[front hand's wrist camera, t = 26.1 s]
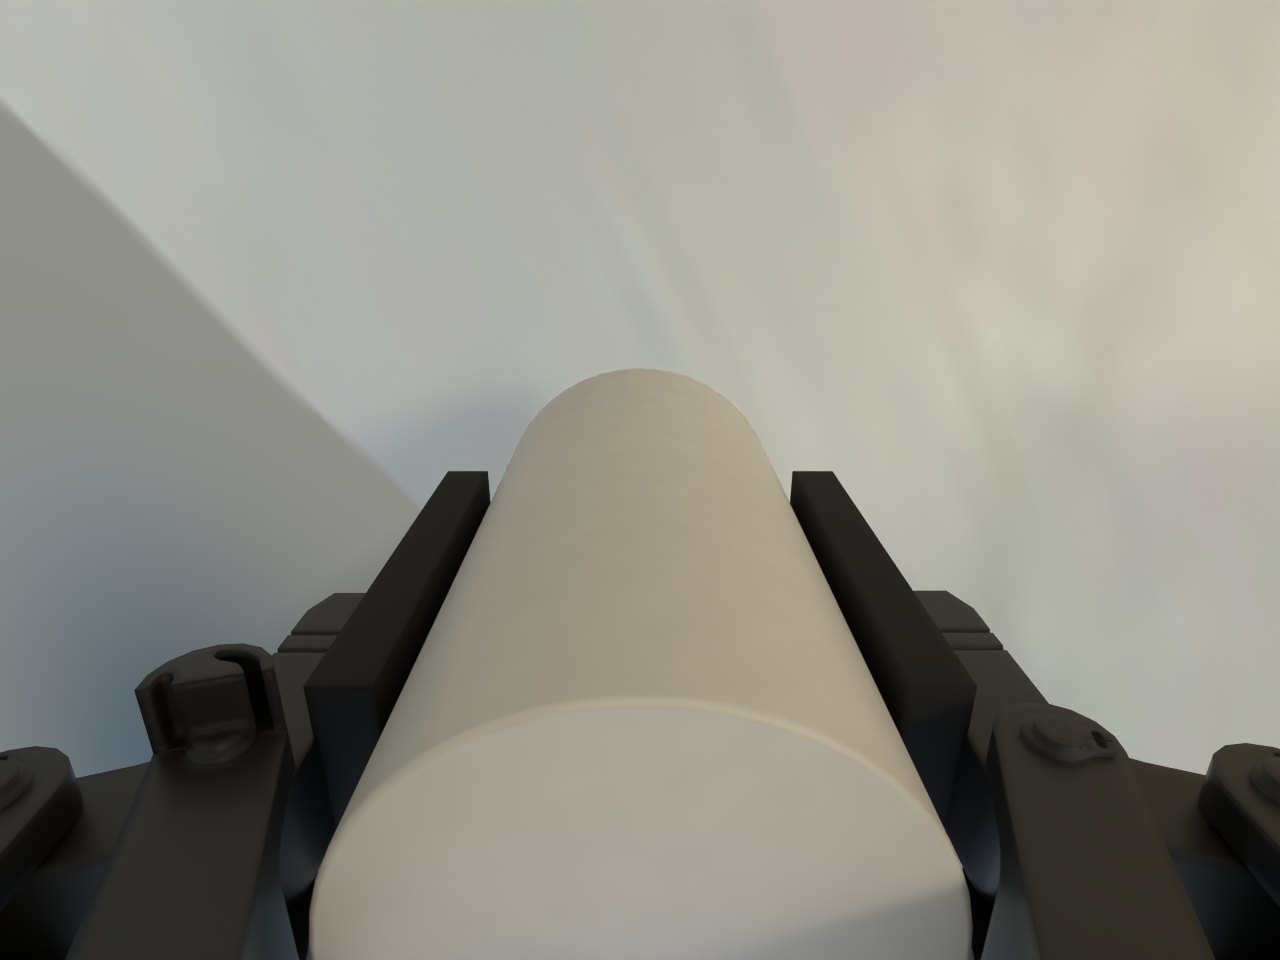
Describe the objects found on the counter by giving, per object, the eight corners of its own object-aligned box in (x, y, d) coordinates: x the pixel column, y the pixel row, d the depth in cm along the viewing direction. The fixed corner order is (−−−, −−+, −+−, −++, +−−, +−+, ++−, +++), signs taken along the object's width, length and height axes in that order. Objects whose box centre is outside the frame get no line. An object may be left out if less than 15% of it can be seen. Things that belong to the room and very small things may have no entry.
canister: (660, 310, 15) (701, 556, 5) (822, 513, 17) (1096, 1003, 7) (454, 479, 16) (162, 940, 6) (623, 651, 18) (602, 1232, 8)
